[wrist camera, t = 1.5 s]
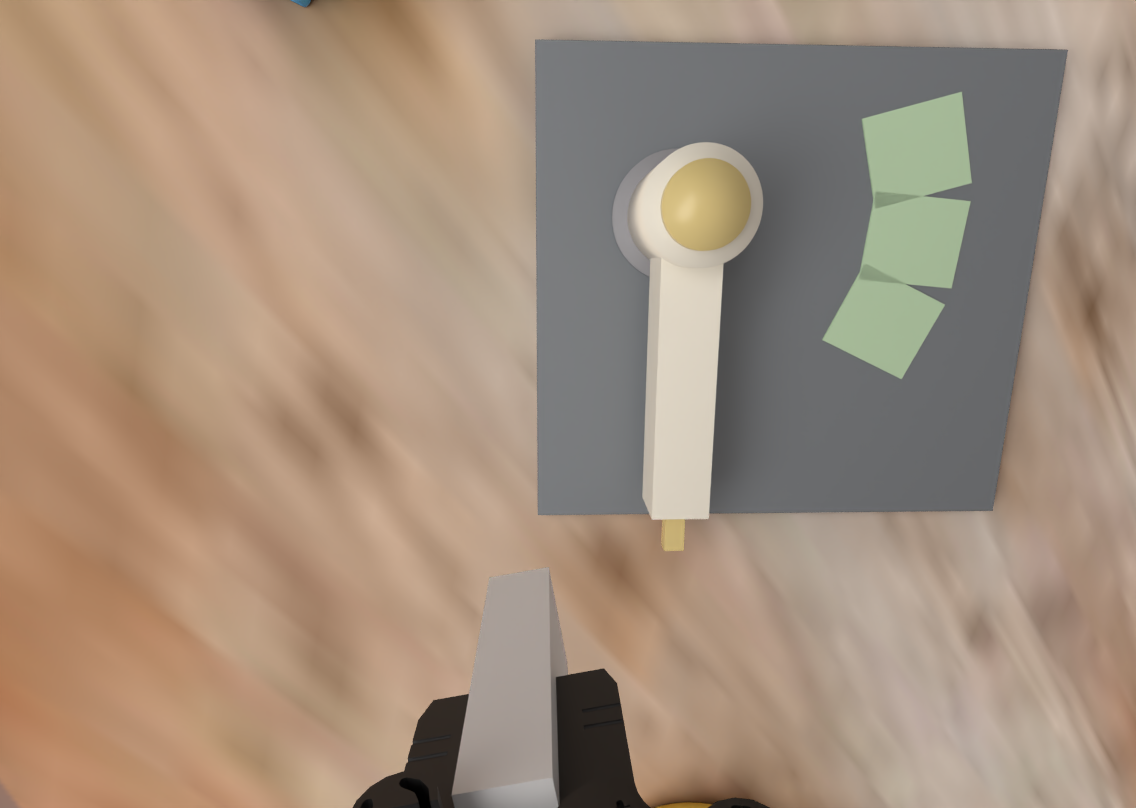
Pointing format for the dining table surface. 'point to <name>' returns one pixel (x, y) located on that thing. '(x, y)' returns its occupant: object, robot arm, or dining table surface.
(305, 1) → the ink box
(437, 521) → the dining table surface
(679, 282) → the peg lever
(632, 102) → the board
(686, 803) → the teapot
